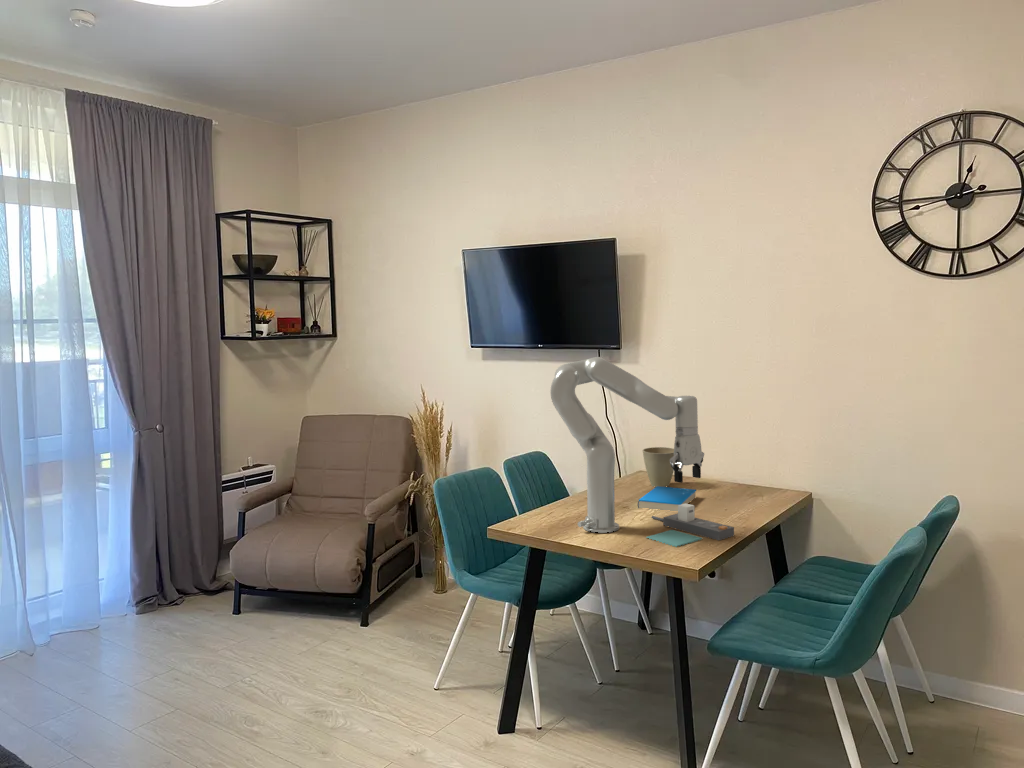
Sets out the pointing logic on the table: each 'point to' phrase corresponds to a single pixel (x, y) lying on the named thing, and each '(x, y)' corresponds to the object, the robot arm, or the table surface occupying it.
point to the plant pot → (658, 465)
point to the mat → (674, 538)
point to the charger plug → (686, 512)
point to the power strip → (698, 527)
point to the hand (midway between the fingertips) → (687, 479)
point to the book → (666, 498)
